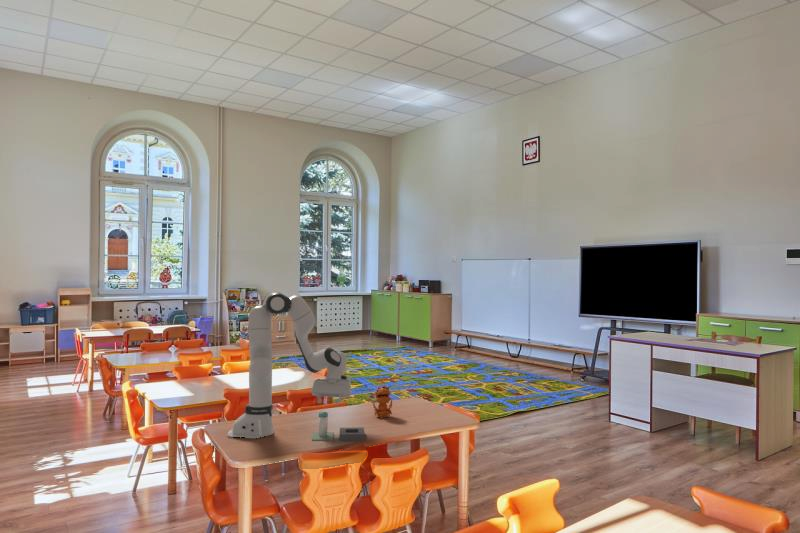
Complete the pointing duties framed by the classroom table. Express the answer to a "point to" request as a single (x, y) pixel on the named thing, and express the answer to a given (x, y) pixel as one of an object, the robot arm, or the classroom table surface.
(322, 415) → the filter cartridge
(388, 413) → the brown plush toy
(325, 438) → the service mat
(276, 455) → the classroom table surface
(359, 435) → the grey square base
